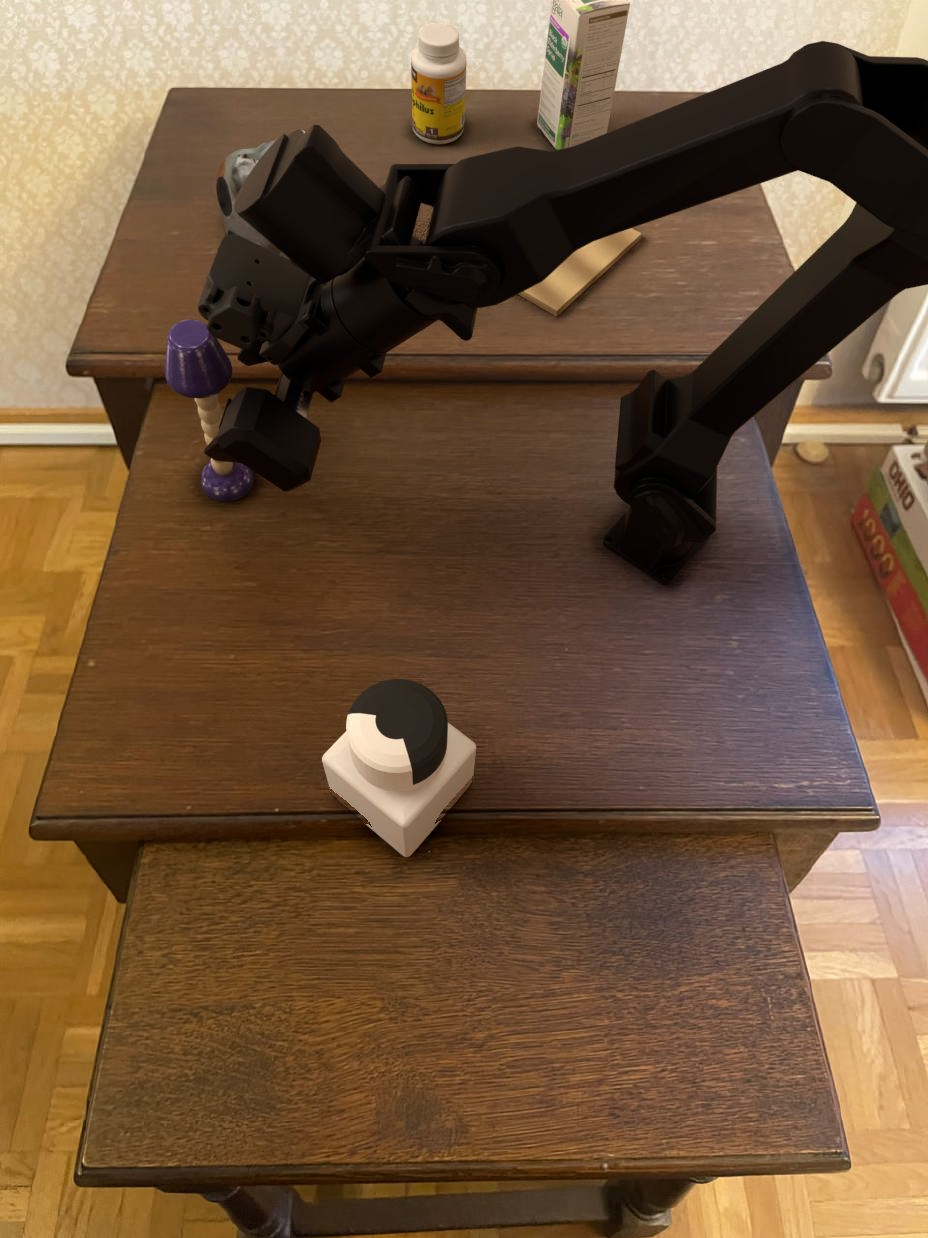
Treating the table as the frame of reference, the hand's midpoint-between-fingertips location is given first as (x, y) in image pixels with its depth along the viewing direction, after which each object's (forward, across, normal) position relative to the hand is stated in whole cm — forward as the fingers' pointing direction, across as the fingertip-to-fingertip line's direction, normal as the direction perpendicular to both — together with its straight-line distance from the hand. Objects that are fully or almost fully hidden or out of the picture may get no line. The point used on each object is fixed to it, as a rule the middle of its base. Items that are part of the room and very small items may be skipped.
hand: (226, 406), depth 72 cm
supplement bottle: (+1, -49, +13) cm, 51 cm away
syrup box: (-9, -51, +23) cm, 57 cm away
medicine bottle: (-5, +24, +19) cm, 31 cm away
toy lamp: (+8, 0, +6) cm, 10 cm away
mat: (-8, -33, +22) cm, 40 cm away
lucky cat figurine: (+8, -30, +6) cm, 32 cm away
